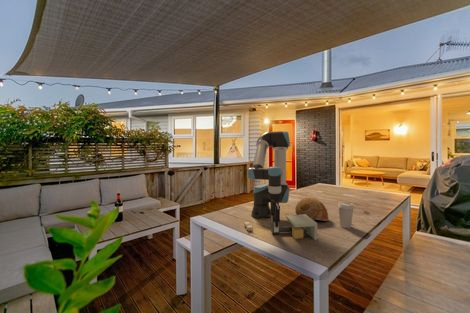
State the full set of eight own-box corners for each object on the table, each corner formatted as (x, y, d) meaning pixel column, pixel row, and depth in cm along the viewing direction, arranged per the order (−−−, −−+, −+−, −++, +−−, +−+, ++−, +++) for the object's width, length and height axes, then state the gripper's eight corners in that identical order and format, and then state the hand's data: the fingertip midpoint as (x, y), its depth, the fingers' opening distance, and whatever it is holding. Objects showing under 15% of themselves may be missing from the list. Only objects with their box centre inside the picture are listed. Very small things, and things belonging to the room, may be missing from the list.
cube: (291, 234, 135) (291, 226, 135) (300, 234, 136) (300, 226, 136) (295, 238, 130) (295, 230, 130) (303, 237, 131) (303, 229, 131)
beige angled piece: (285, 230, 143) (285, 215, 142) (305, 228, 144) (305, 214, 143) (295, 241, 127) (295, 224, 126) (317, 239, 128) (317, 223, 128)
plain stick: (244, 226, 151) (244, 222, 151) (248, 225, 152) (248, 221, 151) (248, 232, 141) (248, 227, 141) (252, 231, 142) (252, 227, 142)
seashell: (312, 210, 176) (315, 192, 172) (331, 224, 158) (335, 205, 153) (289, 213, 168) (292, 195, 164) (306, 229, 150) (310, 208, 146)
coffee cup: (357, 228, 143) (357, 205, 142) (343, 229, 141) (343, 206, 140) (347, 223, 152) (347, 201, 151) (334, 224, 151) (334, 202, 150)
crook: (270, 231, 139) (270, 215, 138) (299, 229, 141) (299, 213, 141) (275, 237, 129) (275, 220, 129) (306, 235, 132) (306, 218, 131)
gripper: (265, 189, 144) (265, 225, 145) (272, 196, 127) (272, 236, 128) (276, 189, 145) (276, 224, 146) (285, 195, 128) (285, 235, 129)
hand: (275, 230), depth 137 cm, fingers closed on crook, 4 cm apart
